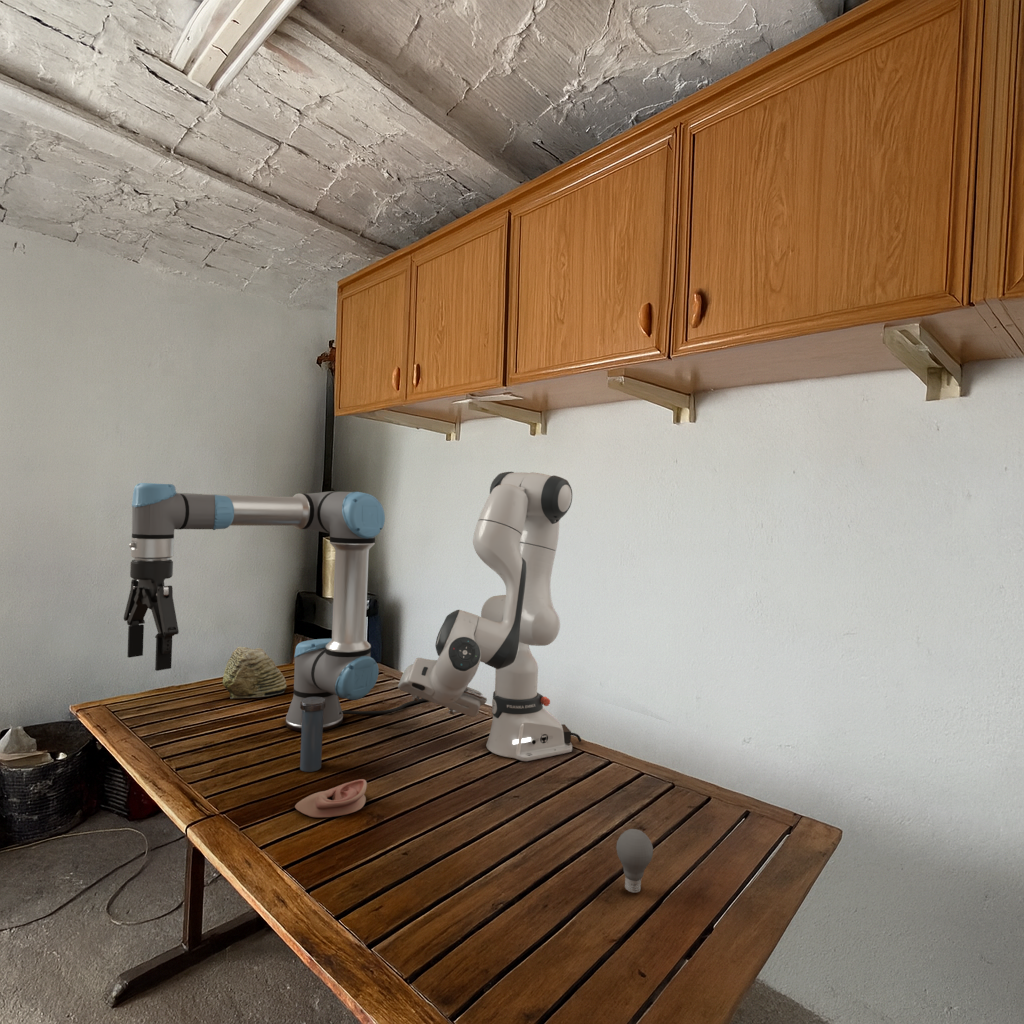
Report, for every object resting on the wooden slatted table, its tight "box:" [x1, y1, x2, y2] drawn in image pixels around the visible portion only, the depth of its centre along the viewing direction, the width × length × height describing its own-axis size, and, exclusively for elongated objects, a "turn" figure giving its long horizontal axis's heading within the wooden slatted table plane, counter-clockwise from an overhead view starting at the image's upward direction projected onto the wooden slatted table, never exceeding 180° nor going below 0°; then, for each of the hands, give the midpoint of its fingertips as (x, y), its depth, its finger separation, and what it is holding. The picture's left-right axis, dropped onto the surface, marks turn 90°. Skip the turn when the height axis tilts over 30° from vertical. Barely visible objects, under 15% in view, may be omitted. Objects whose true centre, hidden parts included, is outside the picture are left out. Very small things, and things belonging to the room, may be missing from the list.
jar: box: [299, 709, 324, 773], centre depth 148 cm, size 5×5×15 cm
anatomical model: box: [294, 778, 368, 819], centre depth 130 cm, size 13×4×12 cm
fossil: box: [222, 646, 288, 699], centre depth 198 cm, size 9×18×15 cm, turn 132°
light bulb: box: [615, 828, 654, 894], centre depth 106 cm, size 6×6×10 cm
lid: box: [300, 697, 326, 711], centre depth 147 cm, size 6×6×2 cm
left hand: (148, 662), depth 129 cm, fingers open, 13 cm apart
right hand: (433, 704), depth 156 cm, fingers open, 8 cm apart
